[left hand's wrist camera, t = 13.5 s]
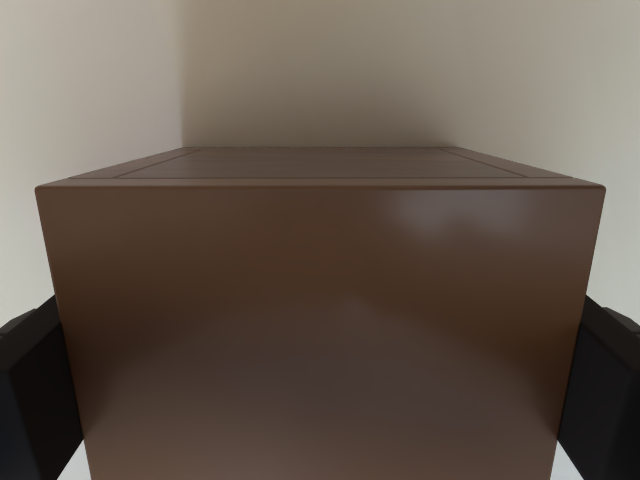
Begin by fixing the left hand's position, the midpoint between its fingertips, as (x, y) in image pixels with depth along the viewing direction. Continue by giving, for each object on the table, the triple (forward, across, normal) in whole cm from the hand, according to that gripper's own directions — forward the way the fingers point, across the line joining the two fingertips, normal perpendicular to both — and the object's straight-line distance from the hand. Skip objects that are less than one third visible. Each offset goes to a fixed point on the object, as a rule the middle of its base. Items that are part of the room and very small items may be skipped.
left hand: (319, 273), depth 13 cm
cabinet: (+2, 0, -7) cm, 8 cm away
